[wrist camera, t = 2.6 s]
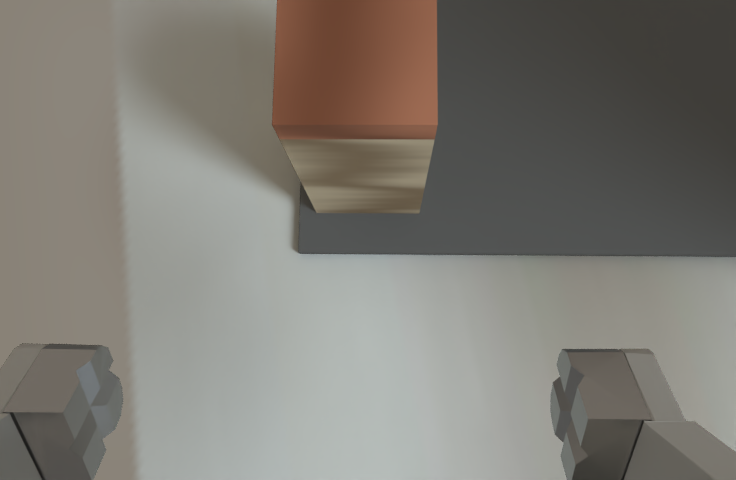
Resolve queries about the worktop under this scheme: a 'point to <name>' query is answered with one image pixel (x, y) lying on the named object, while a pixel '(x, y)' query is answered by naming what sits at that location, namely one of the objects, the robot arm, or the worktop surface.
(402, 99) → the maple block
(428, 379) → the worktop surface
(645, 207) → the charcoal mat
